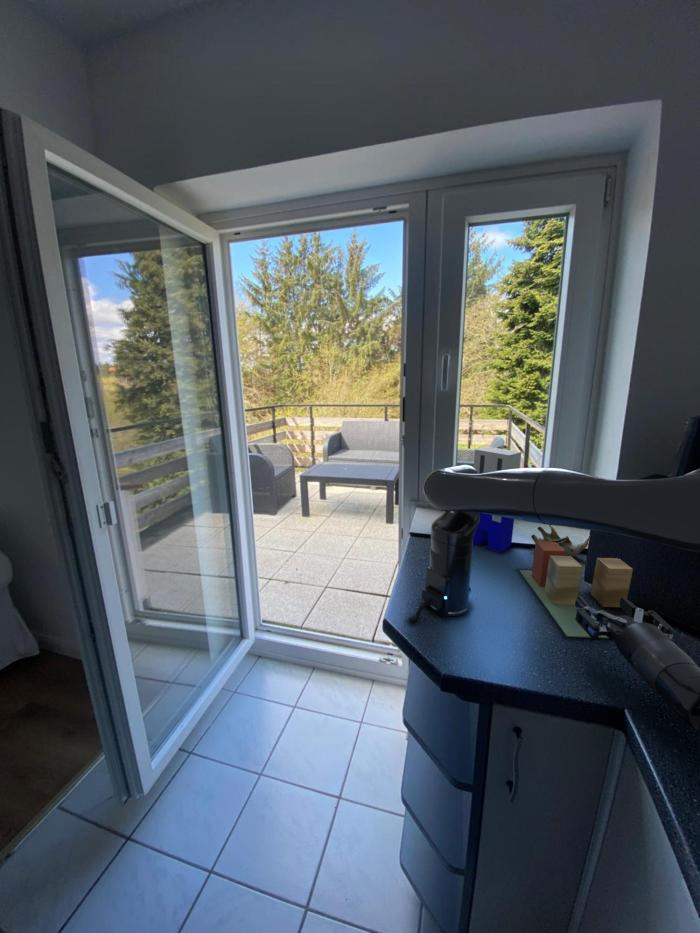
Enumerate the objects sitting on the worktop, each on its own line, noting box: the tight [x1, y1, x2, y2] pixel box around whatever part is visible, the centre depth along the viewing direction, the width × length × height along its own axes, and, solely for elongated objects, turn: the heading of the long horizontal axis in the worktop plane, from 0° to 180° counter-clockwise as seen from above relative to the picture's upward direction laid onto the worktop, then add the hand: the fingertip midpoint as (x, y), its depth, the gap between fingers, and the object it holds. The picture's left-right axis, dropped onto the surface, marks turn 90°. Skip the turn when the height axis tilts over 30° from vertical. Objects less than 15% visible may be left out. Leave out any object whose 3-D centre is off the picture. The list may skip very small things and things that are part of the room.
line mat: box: [519, 569, 609, 639], centre depth 89 cm, size 26×9×1 cm, turn 176°
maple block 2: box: [590, 557, 634, 608], centre depth 87 cm, size 5×5×10 cm
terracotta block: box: [531, 542, 565, 587], centre depth 95 cm, size 5×5×10 cm
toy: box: [473, 446, 522, 553], centre depth 114 cm, size 34×7×30 cm, turn 40°
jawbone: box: [530, 525, 589, 557], centre depth 109 cm, size 9×15×10 cm
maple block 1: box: [544, 556, 583, 606], centre depth 87 cm, size 5×5×10 cm
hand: (599, 600), depth 76 cm, fingers open, 8 cm apart
